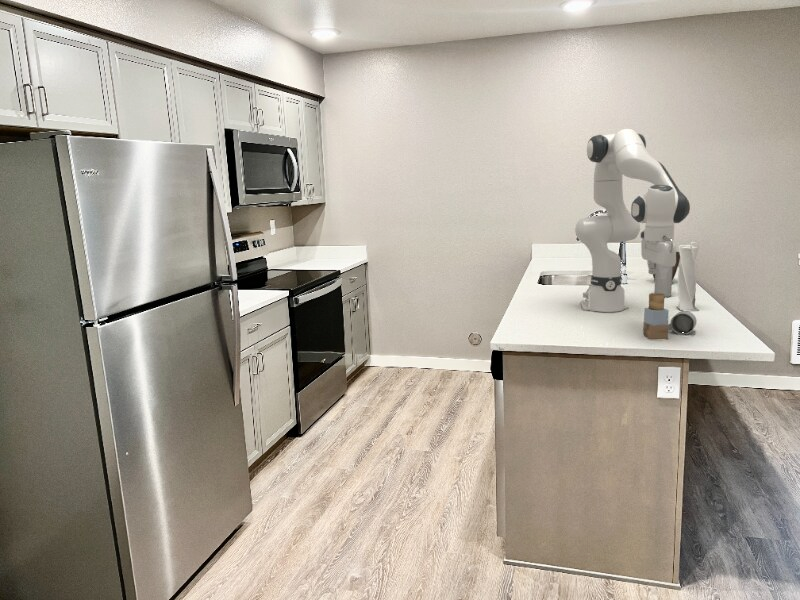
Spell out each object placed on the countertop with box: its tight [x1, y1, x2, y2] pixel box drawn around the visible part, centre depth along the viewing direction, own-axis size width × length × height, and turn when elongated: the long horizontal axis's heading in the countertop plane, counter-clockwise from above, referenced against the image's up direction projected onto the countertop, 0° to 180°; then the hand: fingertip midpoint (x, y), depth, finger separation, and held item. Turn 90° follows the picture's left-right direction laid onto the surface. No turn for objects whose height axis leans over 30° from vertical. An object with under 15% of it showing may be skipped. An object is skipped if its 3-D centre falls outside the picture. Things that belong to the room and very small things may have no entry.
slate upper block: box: [643, 307, 669, 326], centre depth 203 cm, size 6×6×5 cm
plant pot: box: [652, 251, 681, 282], centre depth 304 cm, size 15×15×16 cm
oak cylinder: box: [648, 292, 665, 310], centre depth 202 cm, size 5×5×5 cm
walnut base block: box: [642, 321, 669, 340], centre depth 204 cm, size 6×6×5 cm
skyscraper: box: [676, 241, 700, 311], centre depth 242 cm, size 8×8×28 cm
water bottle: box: [653, 264, 673, 299], centre depth 271 cm, size 9×8×25 cm
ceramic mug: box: [668, 311, 697, 335], centre depth 209 cm, size 11×8×8 cm
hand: (657, 276), depth 200 cm, fingers open, 8 cm apart
